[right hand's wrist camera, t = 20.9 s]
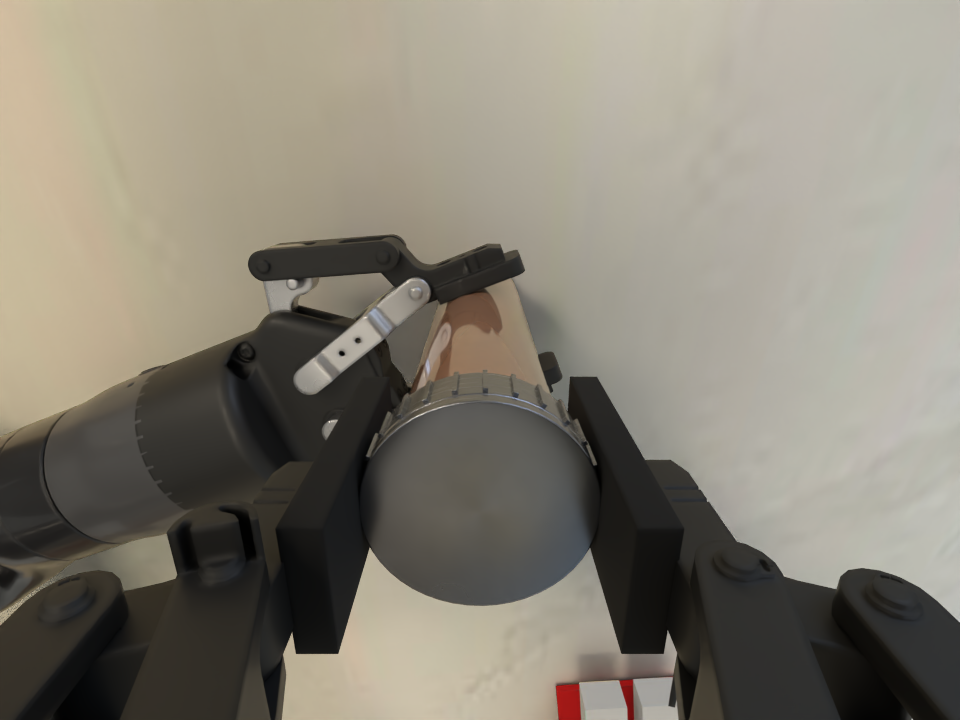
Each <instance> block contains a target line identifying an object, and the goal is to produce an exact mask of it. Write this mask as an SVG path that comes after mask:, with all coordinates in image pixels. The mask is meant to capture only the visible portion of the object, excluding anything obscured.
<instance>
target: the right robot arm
mask: <svg viewBox="0 0 960 720" xmlns="http://www.w3.org/2000/svg"><path fill="white" fill-rule="evenodd" d="M387 412H390V413H392V405H391V390H390V377H362V379H361V381H360V383H359V384H358V386H357V388H356V390H355V391H354V393H353V395H352V396H351V398H350V400H349V402H348V403H347V405H346V407H345V409H344V410H343V412H342V414H341V416H340V417H339V419H338V421H337V422H336V424H335V426H334V428H333V429H332V431H331V433H330V435H329V436H328V438H327V440H326V441H325V443H324V445H323V447H322V448H321V450H320V452H319V454H318V455H317V457H316V459H315V461H314V462H288V463H287V464H285V465H284V466H282V467H281V468H280V469H278V470H277V471H275V472H274V473H272V474H271V476H270V477H269V479H268V480H267V482H266V483H265V484H264V486H263V487H262V491H260V492H259V493H258V495H257V496H256V497H255V499H254V500H253V504H250V503H247V502H243V501H238V500H230V501H219V502H215V503H211V504H206V505H203V506H201V507H199V508H197V509H194V510H192V511H190V512H188V513H186V514H185V515H184V516H182V517H181V518H179V519H178V520H176V521H175V522H174V523H173V525H172V526H171V527H170V529H169V530H168V531H167V536H168V540H169V544H170V548H171V551H172V555H173V559H174V563H175V567H176V571H177V577H176V579H174V580H170V581H167V582H164V583H159V584H155V585H151V586H146V587H142V588H137V589H133V590H129V591H123V588H122V584H121V581H120V579H119V578H118V577H117V576H116V575H115V574H113V573H112V572H106V571H99V570H98V571H91V572H83V573H79V574H76V575H72V576H70V577H66V578H64V579H61V580H59V581H57V582H55V583H53V584H51V585H49V586H47V587H46V588H44V589H42V590H40V591H39V592H37V593H36V594H35V595H34V596H32V597H31V598H30V599H28V600H27V601H26V602H25V603H23V604H22V605H21V606H20V607H19V608H18V609H17V610H16V611H15V612H14V613H13V614H12V615H11V616H10V617H9V618H8V619H7V620H6V621H5V622H4V623H3V624H1V625H0V720H282V711H283V701H284V691H285V681H286V670H285V663H284V658H283V653H284V650H285V648H286V645H287V643H288V641H289V638H290V636H291V633H292V632H293V638H294V644H295V650H296V654H338V653H339V649H340V646H341V643H342V639H343V636H344V632H345V629H346V626H347V622H348V619H349V615H350V612H351V609H352V605H353V602H354V599H355V595H356V592H357V588H358V585H359V582H360V578H361V575H362V571H363V568H364V565H365V561H366V558H367V554H368V551H369V548H370V546H369V544H368V542H367V540H366V538H365V535H364V532H363V529H362V527H361V520H360V510H359V488H360V483H361V480H362V476H363V472H364V470H365V467H366V465H367V462H368V461H366V460H364V459H365V457H366V454H367V452H368V449H369V447H370V444H371V442H372V439H373V437H374V435H375V433H377V434H378V433H379V430H380V428H381V425H382V423H383V420H384V418H385V415H386V414H387ZM568 412H569V414H570V415H571V417H572V418H573V419H574V420H575V419H578V421H579V422H580V425H581V427H582V430H583V432H584V435H585V437H586V440H587V441H588V442H589V445H590V447H591V450H592V452H593V455H594V457H595V459H596V462H597V464H598V469H596V472H597V475H598V479H599V482H600V487H601V507H600V518H599V527H598V530H597V533H596V536H595V538H594V540H593V542H592V544H591V546H590V549H591V552H592V555H593V559H594V562H595V566H596V569H597V572H598V576H599V579H600V583H601V586H602V589H603V593H604V596H605V600H606V603H607V606H608V610H609V613H610V616H611V620H612V623H613V627H614V630H615V633H616V637H617V640H618V644H619V647H620V650H621V654H664V649H665V643H666V637H667V631H669V634H670V636H671V639H672V641H673V644H674V646H675V648H676V651H677V658H676V663H675V669H674V675H673V680H672V686H671V691H670V697H669V704H668V706H670V707H674V708H675V705H676V700H677V710H678V720H911V719H913V720H960V622H958V621H957V620H956V619H955V618H954V617H953V616H952V615H951V614H950V613H949V612H948V611H947V610H946V609H945V608H944V607H943V606H942V605H941V604H940V603H939V602H938V601H936V600H935V599H934V598H932V597H931V596H930V595H929V594H927V593H926V592H925V591H923V590H922V589H921V588H919V587H917V586H915V585H914V584H912V583H910V582H908V581H906V580H904V579H902V578H900V577H897V576H895V575H892V574H889V573H885V572H882V571H879V570H871V569H864V568H860V569H853V570H848V571H847V572H845V573H844V574H843V575H842V576H841V577H840V580H839V583H838V586H837V589H832V588H828V587H823V586H819V585H814V584H810V583H806V582H801V581H797V580H794V579H790V578H787V577H784V576H783V574H782V572H781V571H780V569H779V568H778V566H777V565H776V563H775V562H774V561H772V560H771V559H770V558H769V557H767V556H766V555H765V554H764V553H762V552H761V551H759V550H757V549H755V548H753V547H751V546H749V545H747V544H743V543H739V542H737V541H736V540H735V539H734V537H733V536H732V534H731V533H730V531H729V530H728V529H727V527H726V526H725V524H724V523H723V521H722V520H721V519H720V517H719V516H718V514H717V513H716V511H715V510H714V509H713V507H712V506H711V504H710V503H709V502H707V499H706V497H705V496H704V494H703V493H702V491H701V490H699V489H698V486H697V484H696V483H695V481H694V480H693V479H692V477H691V476H690V474H689V473H688V472H687V471H686V470H684V469H683V468H681V467H680V466H678V465H677V464H676V463H674V462H673V461H671V460H645V459H644V458H643V456H642V454H641V452H640V451H639V449H638V447H637V446H636V444H635V442H634V440H633V439H632V437H631V435H630V433H629V432H628V430H627V428H626V426H625V425H624V423H623V421H622V420H621V418H620V416H619V414H618V413H617V411H616V409H615V407H614V406H613V404H612V402H611V400H610V399H609V397H608V395H607V394H606V392H605V390H604V388H603V387H602V385H601V383H600V381H599V380H598V378H597V377H570V385H569V401H568Z"/></svg>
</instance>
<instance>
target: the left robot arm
mask: <svg viewBox="0 0 960 720" xmlns="http://www.w3.org/2000/svg"><path fill="white" fill-rule="evenodd" d="M248 267H249V270H250V272H251V274H252V275H253V276H254V277H255V278H257V279H258V280H261V281H263V283H264V287H265V292H266V296H267V301H268V305H269V310H270V314H269V315H267V316H266V317H265V318H264V319H263V320H262V321H261V323H260V324H259V326H258V327H257V328H256V329H255V330H254V331H251V332H249V333H246V334H244V335H241V336H239V337H236V338H234V339H231V340H228V341H226V342H223V343H221V344H218V345H216V346H213V347H211V348H208V349H206V350H203V351H200V352H198V353H195V354H193V355H190V356H188V357H185V358H183V359H180V360H178V361H175V362H173V363H170V364H167V365H162V366H158V367H154V368H151V369H148V370H145V371H143V372H141V374H139V375H138V376H137V377H135V378H132V379H129V380H127V381H125V382H122V383H120V384H118V385H115V386H113V387H111V388H109V389H107V390H105V391H104V392H102V393H100V394H99V395H97V396H95V397H94V398H92V399H90V400H88V401H87V402H85V403H83V404H81V405H78V406H76V407H73V408H71V409H68V410H65V411H63V412H60V413H58V414H55V415H53V416H50V417H48V418H45V419H42V420H40V421H37V422H35V423H32V424H30V425H27V426H25V427H23V428H20V429H18V430H16V431H13V432H11V433H9V434H6V435H4V436H2V437H0V612H2V611H4V610H6V609H8V608H10V607H11V606H13V605H14V604H16V603H17V602H19V601H20V600H21V599H23V598H24V597H26V596H27V595H28V594H30V593H31V592H32V591H34V590H35V589H37V588H38V587H39V586H41V585H42V584H44V583H45V582H47V581H48V580H50V579H51V578H53V577H54V576H55V575H57V574H58V573H59V572H61V571H62V570H63V569H64V568H65V567H67V566H68V565H70V564H71V563H72V562H74V561H75V560H78V559H82V558H84V557H87V556H90V555H93V554H96V553H99V552H102V551H104V550H107V549H110V548H113V547H116V546H119V545H122V544H125V543H127V542H130V541H134V540H138V539H141V538H147V537H153V536H158V535H163V534H167V531H168V530H169V529H170V527H171V526H172V525H173V523H174V522H175V521H176V520H178V519H179V518H181V517H182V516H184V515H185V514H186V513H188V512H190V511H192V510H194V509H197V508H199V507H201V506H203V505H206V504H211V503H215V502H219V501H230V500H238V501H243V502H247V503H250V504H253V500H254V499H255V497H256V496H257V495H258V493H259V492H260V491H262V487H263V486H264V484H265V483H266V482H267V480H268V479H269V477H270V476H271V474H272V473H274V472H275V471H277V470H278V469H280V468H281V467H282V466H284V465H285V464H287V463H288V462H314V461H315V459H316V457H317V455H318V454H319V452H320V450H321V448H322V447H323V445H324V443H325V441H326V440H327V438H328V436H329V435H330V433H331V431H332V429H333V428H334V426H335V424H336V422H337V421H338V419H339V417H340V416H341V414H342V412H343V410H344V409H345V407H346V405H347V403H348V402H349V400H350V398H351V396H352V395H353V393H354V391H355V390H356V388H357V386H358V384H359V383H360V381H361V379H362V377H390V390H391V405H392V412H393V410H394V409H395V408H396V407H397V406H398V405H399V404H400V403H401V402H402V400H403V397H404V395H405V394H407V393H408V395H409V394H410V391H411V387H412V384H413V383H406V382H405V380H404V378H403V375H402V374H401V373H400V372H399V371H398V369H397V368H396V367H395V366H394V365H393V363H392V362H391V358H390V352H389V346H388V344H387V342H386V339H385V338H386V337H387V336H388V335H389V334H390V333H391V332H392V331H393V330H394V329H395V328H396V327H397V326H399V325H400V324H401V323H403V322H404V321H405V320H406V319H408V318H409V317H410V316H411V315H413V314H414V313H415V312H416V311H418V310H419V309H420V308H422V307H423V306H424V305H425V304H427V303H430V302H432V301H435V300H438V301H439V303H440V305H442V304H445V303H447V302H450V301H452V300H455V299H457V298H459V297H462V296H465V295H468V294H471V293H473V292H476V291H479V290H481V289H484V288H486V287H489V286H492V285H494V284H497V283H500V282H502V281H505V280H507V279H510V278H513V277H515V276H518V275H520V274H522V273H523V272H524V271H525V268H524V266H523V263H522V260H521V257H520V254H519V252H518V250H513V251H509V252H507V253H503V251H502V248H501V245H500V244H486V245H483V246H480V247H478V248H476V249H473V250H470V251H468V252H466V253H463V254H460V255H458V256H455V257H453V258H450V259H447V260H445V261H442V262H440V263H437V264H434V265H427V264H424V263H421V262H420V261H418V260H417V259H416V258H415V257H414V255H413V254H412V253H411V252H410V251H409V250H408V249H407V247H406V244H405V242H404V240H403V239H402V238H401V237H399V236H397V235H379V236H366V237H354V238H341V239H329V240H316V241H303V242H291V243H280V244H277V245H275V246H271V247H268V248H265V249H262V250H260V251H257V252H255V253H253V254H252V255H251V256H250V258H249V261H248ZM368 273H382V274H383V275H384V276H385V277H386V279H387V280H388V281H389V282H390V283H391V284H392V285H393V286H394V287H393V288H391V289H390V290H389V291H388V292H386V293H385V294H383V295H382V296H381V297H379V298H378V299H377V300H376V301H374V302H373V303H372V304H371V305H370V306H368V307H367V308H366V309H365V310H363V311H362V312H361V313H360V314H358V315H357V316H356V317H355V318H354V319H351V318H347V317H343V316H339V315H335V314H331V313H327V312H323V311H319V310H315V309H311V308H307V307H303V306H299V305H298V299H299V297H300V295H304V294H306V293H308V292H309V291H311V290H312V289H314V288H315V287H316V286H317V285H318V282H319V277H330V276H343V275H355V274H368ZM538 357H539V360H540V363H541V366H542V369H543V372H544V375H545V378H546V381H547V384H548V388H549V391H550V393H552V392H553V389H552V386H551V385H552V384H555V383H557V382H559V381H560V380H561V379H562V374H561V371H560V368H559V365H558V362H557V360H556V358H555V355H554V353H553V352H545V353H542V354H539V355H538Z"/></svg>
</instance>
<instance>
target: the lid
mask: <svg viewBox="0 0 960 720" xmlns="http://www.w3.org/2000/svg"><path fill="white" fill-rule="evenodd" d="M364 460H366V461H368V462H367V465H366V467H365V470H364V472H363V476H362V480H361V483H360V488H359V510H360V520H361V527H362V529H363V532H364V535H365V538H366V540H367V542H368V544H369V546H370V548H371V550H372V551H373V553H374V554H375V555H376V557H377V558H378V560H379V561H380V562H381V563H382V564H383V566H384V567H385V568H386V569H387V570H388V571H389V572H390V573H391V574H393V575H394V576H395V577H396V578H398V579H399V580H400V581H401V582H403V583H404V584H406V585H408V586H409V587H411V588H412V589H414V590H416V591H418V592H420V593H422V594H425V595H427V596H430V597H433V598H435V599H438V600H442V601H446V602H450V603H455V604H462V605H474V606H487V605H499V604H505V603H511V602H515V601H518V600H522V599H525V598H528V597H530V596H533V595H535V594H538V593H540V592H542V591H544V590H546V589H548V588H549V587H551V586H553V585H554V584H556V583H557V582H559V581H560V580H561V579H563V578H564V577H565V576H566V575H567V574H569V573H570V572H571V571H572V570H573V569H574V568H575V567H576V566H577V565H578V563H579V562H580V561H581V560H582V559H583V557H584V556H585V554H586V553H587V551H588V550H589V548H590V546H591V544H592V542H593V540H594V538H595V536H596V533H597V530H598V527H599V518H600V507H601V487H600V482H599V479H598V475H597V472H596V469H598V464H597V462H596V459H595V457H594V455H593V452H592V450H591V447H590V445H589V442H588V441H587V440H586V437H585V435H584V432H583V430H582V427H581V425H580V422H579V421H578V419H575V420H574V419H573V418H572V417H571V415H570V414H569V412H568V411H567V410H566V408H565V405H564V403H563V401H562V400H561V399H559V400H558V401H557V400H556V399H554V398H553V397H552V396H551V395H550V394H548V393H547V392H545V391H543V389H542V386H541V385H540V384H537V385H536V386H535V385H533V384H530V383H528V382H526V381H524V380H521V379H517V378H516V375H515V374H511V376H507V375H501V374H495V373H488V370H483V373H466V374H459V372H454V376H449V377H446V378H443V379H440V380H437V381H434V382H432V380H429V381H427V383H426V386H424V387H422V388H420V389H418V390H417V391H415V392H414V393H412V394H411V395H408V393H407V394H405V395H404V397H403V400H402V402H401V403H400V404H399V405H398V406H397V407H396V408H395V409H394V410H393V412H392V413H390V412H387V414H386V415H385V418H384V420H383V423H382V425H381V428H380V430H379V433H378V434H377V433H375V435H374V437H373V439H372V442H371V444H370V447H369V449H368V452H367V454H366V457H365V459H364Z"/></svg>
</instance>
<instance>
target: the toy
mask: <svg viewBox="0 0 960 720" xmlns="http://www.w3.org/2000/svg"><path fill="white" fill-rule="evenodd" d="M672 680H673V677H660V678H645V679H633V680H623V681H619V680H610V681H593V682H579V684H572V685H560V686H556V693H557V704H558V716H559V720H678V710H677V700H676V705H675V708H674V707H670V706H668V704H669V697H670V691H671V686H672Z"/></svg>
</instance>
